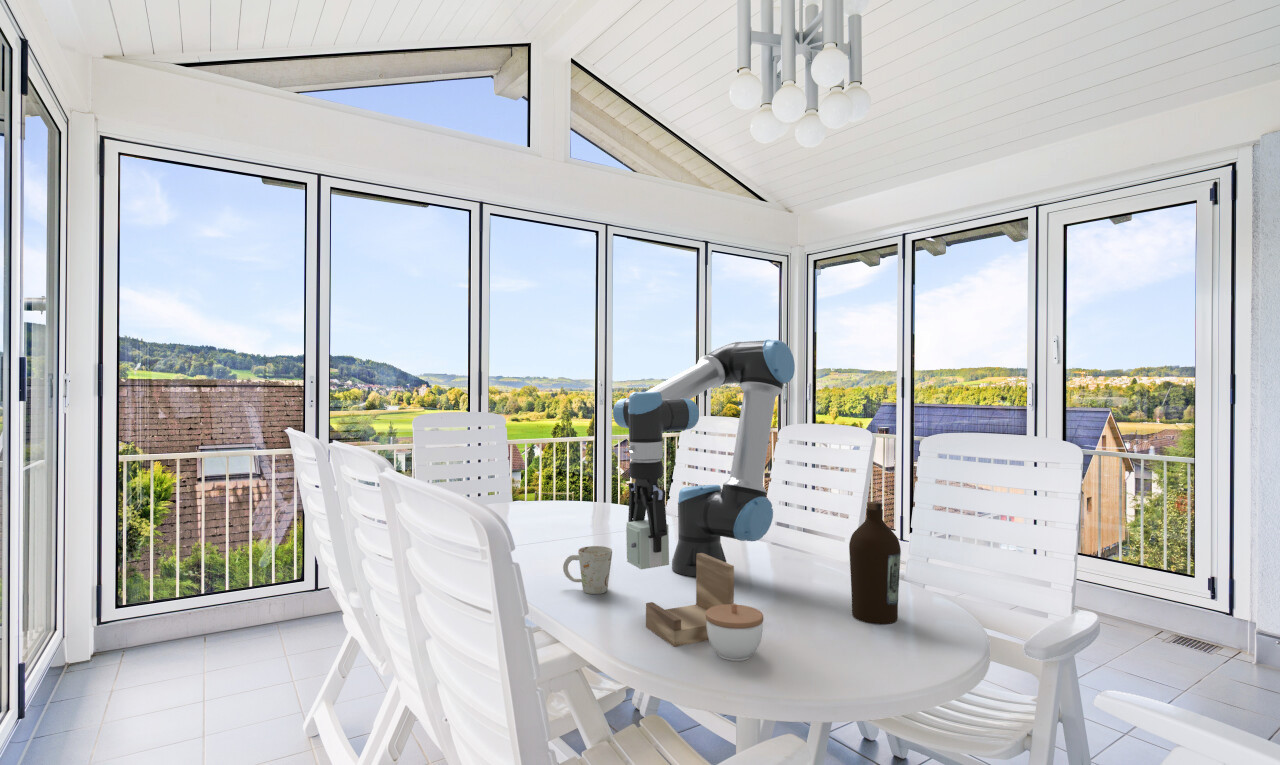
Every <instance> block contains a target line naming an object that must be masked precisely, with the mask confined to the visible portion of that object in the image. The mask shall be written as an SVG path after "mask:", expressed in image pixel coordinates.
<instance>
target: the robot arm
mask: <svg viewBox="0 0 1280 765" xmlns="http://www.w3.org/2000/svg"><path fill="white" fill-rule="evenodd" d="M793 355H794V354H793V353H792V350H791V349H790V347H789V345H787V343H785V342H784V341H782V340H777V339H776V340H773V339H765V340H754V341H737V342H736V341H735V342H731V343H729V344H725V345H723V346H721V347H719V348H716V349H715V350H713V351H710V352H709V353H707V354H705V355H703V356H701V357H700V358H699V359H698V361H697V363H696V364H694V365H692V366H691V367H688V368H687V369H685V370H684V371H681V372H680V373H678V374H676V375H674V376H672V377H670V378H669V379H667V380H664V381H663V382H661V383H659V384H657V385H655V386H654V387H651V388H649V389H648V390H647V391H634V392H631V393H629V396H628V397H626V398H624V397H623V398H621V399H619V400H617V401H616V403H615V404H614V407H613V408H612V415H613V420H614V422H615V423H616V425H617V426H618V427H620V428H626V429H628V436H629V438H628V442H629V443H628V445H629V446H628V447H627V451H629V459H630V460H631V461H629V478H631V479H633V480H634V482H628V494H629V495H628V496H629V497H628V519H627V522H633V521H641V520H646V515H647V520H648V521H649V527H650V533H651V535H650V536H648V538H649V567H653V568H659V567H663V566H662V549H661V538H662V537H663V536H666V535H667V524H668V523H667V511H666V493H667V492H666V490H665V489H660V487H659V484H658V481H659V479H661V478H663V476H664V467H663V466H664V463H663V461H662V460H661V459H663V457H664V456H663V455H664V454H663V453H664V452H663V449H664V447H663V445H664V443H663V433H665V432H679V431H683V432H684V431H686V430H687V431H688V430H691V429H693V428H695V427H696V425H697V424H698V423H699V419H700V410H699V406H698V405H697V403H696V402H695V401H693V398H695V397H696V396H698V395H700V394H702V393H704V392H705V391H707V390H709V389H710V388H711V389H716V388H720V387H721V386H723V385H726V384H739V387H740V389H741V390H742V391H743V395H742V401H741V402H742V403H741V410H740V413H739V414H740V415H739V419H738V420H739V421H738V428H737V433H736V438H735V445H734V450H733V451H734V452H733V457H732V463H731V464H732V465H731V469H730V476H729V478H728V480H727V481H725V482H723V483H722V488H721V485H719V484H705V485H704V484H703V485H694V486H685V487H683V488H681V489H680V490H679V491H678V500H677V518H678V520H677V524H678V526H677V527H678V530H677V531H678V532H677V533H678V537H677V538H678V540H677V543H676V548H675V551H674V554H673V557H672V560H671V570H672V571H673V572H675V573H676V574H679V575H684V576H688V577H696V554H697V553H704V554H706V555H709V556H711V557H714V558H716V559H719V560H721V561H723V562H726V563H728V562H727V558H726V555H725V552H724V549H723V545H722V543H721V541H722V540H721V537H724V538H729V539H732V540H733V539H734V540H738V541H741V542H744V541H745V542H756V541H759V540H761V539H763V537H765V535H766V534H767V533H768V531H769V530H770V527H771V525H772V522H773V519H774V509H773V503H772V502H771V500H770V499H769V498H767V495H768V494H767V493H768V492H767V490H766V488H765V487H764V484H763V483H764V482H763V480H764V474H765V468H766V461H767V454H768V449H769V441H770V435H771V429H772V424H773V423H772V422H773V417H774V408H775V403H776V397H778V396H779V395H781V394H782V393H783V388H784V384H788V383H790V382H791V380H793V377H794V376H795V371H796V370H795V368H796V366H795V359H794V356H793ZM658 566H659V567H658Z"/></svg>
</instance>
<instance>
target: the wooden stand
mask: <svg viewBox="0 0 1280 765" xmlns="http://www.w3.org/2000/svg"><path fill="white" fill-rule="evenodd" d="M695 578H696V579H695V581H696V583H695V586H696V587H695V588H696V589H695V590H696V591H695V592H696V593H695V594H696V595H695V597H696V598H695V599H696V600H695V601H696V602H695V604H692V605H684V606H678V607H673V608H672V607H671V608H666V609H665V608H663V607H661V606H660V605H659V604H656V603H655V602H653V601H649V602H646V603H645V628H647V629H648V630H649V631H651V632H653V633H654V634H655V635H656V636H657V637H660V638H661V639H662V640H664V641H665V642H667V643H668V644H669V645H671V646H672V647H674V648H675V647H681V646H686V645H691V644H695V643H696V644H697V643H702V642H706V641H708V642H709V639H708V635H707V629H706V611H707V610H708V609H709V608H711V607H713V606H717V605H725V604H735V596H734V595H735V591H734V590H735V566H734V564H731V563H729V562H727V563H726V562H723V561H721V560H719V559H716V558H714V557H711V556H709V555H706V554H704V553H697V554H696V576H695Z"/></svg>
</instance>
